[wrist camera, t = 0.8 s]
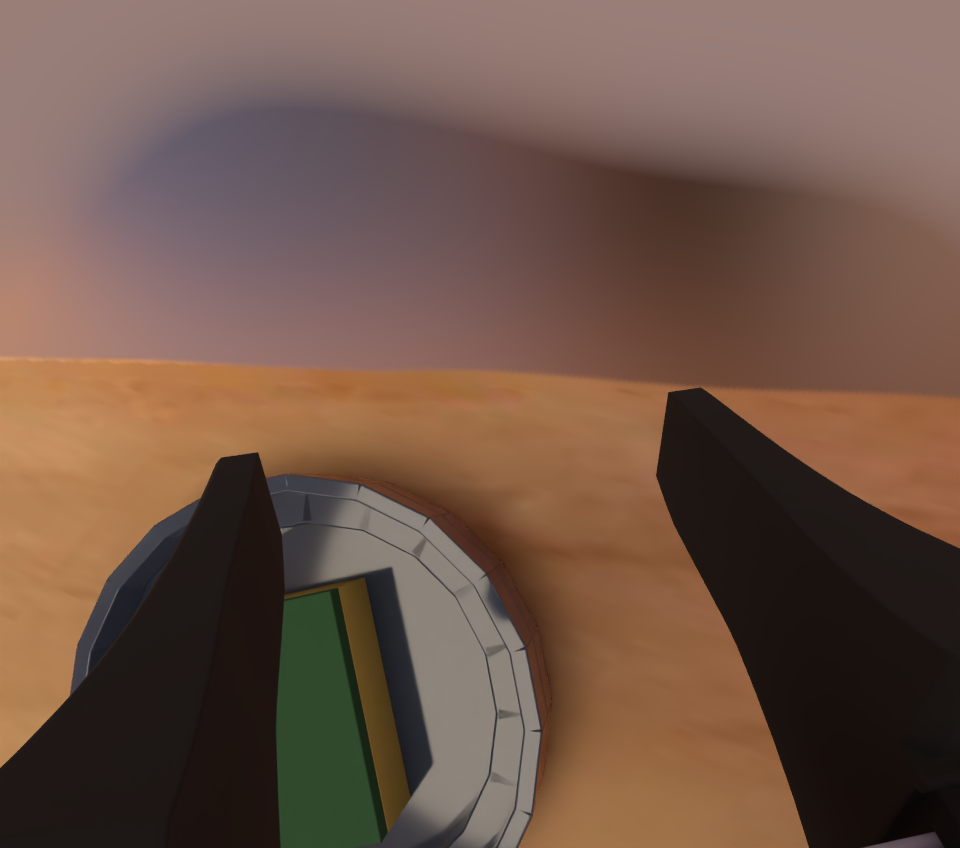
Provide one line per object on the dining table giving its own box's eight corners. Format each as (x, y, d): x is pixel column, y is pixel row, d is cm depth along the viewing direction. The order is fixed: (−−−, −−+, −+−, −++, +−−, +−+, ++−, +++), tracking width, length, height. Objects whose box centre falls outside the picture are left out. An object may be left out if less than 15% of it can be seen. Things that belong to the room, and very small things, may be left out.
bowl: (522, 965, 28) (506, 1044, 24) (110, 867, 31) (36, 924, 27) (575, 505, 29) (568, 510, 25) (167, 452, 32) (103, 449, 28)
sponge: (411, 798, 29) (381, 843, 25) (292, 819, 29) (247, 865, 26) (365, 576, 30) (329, 590, 26) (250, 602, 30) (201, 618, 27)
